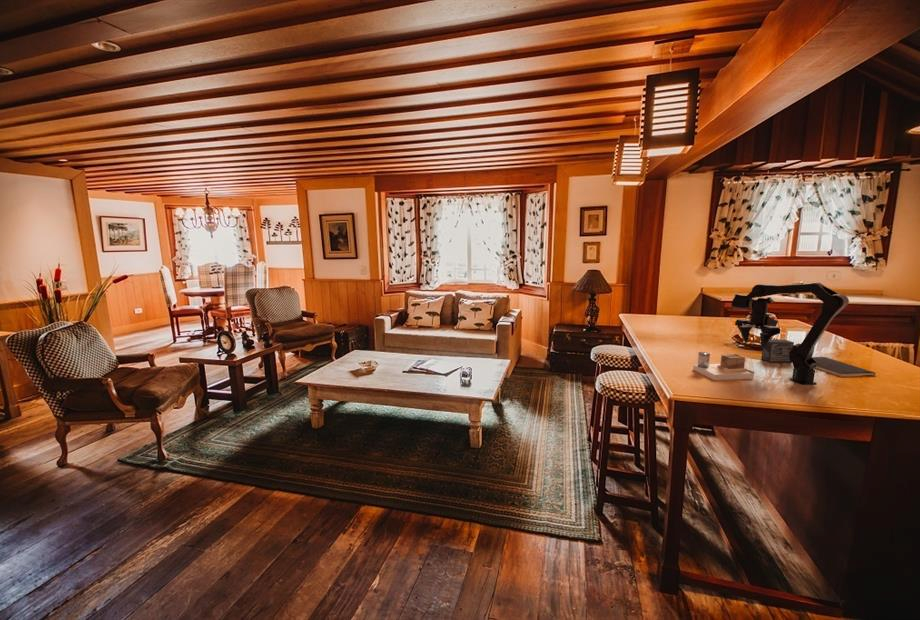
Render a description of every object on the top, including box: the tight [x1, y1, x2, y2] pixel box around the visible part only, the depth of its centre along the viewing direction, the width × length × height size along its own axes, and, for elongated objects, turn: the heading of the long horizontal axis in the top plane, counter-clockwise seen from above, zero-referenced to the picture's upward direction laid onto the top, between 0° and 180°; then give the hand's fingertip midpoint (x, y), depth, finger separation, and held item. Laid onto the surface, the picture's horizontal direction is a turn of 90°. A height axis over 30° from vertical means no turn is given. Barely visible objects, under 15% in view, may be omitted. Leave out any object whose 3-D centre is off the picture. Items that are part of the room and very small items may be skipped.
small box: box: [761, 339, 795, 364], centre depth 191 cm, size 11×6×10 cm, turn 84°
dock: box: [692, 363, 755, 381], centre depth 175 cm, size 14×18×3 cm
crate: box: [717, 353, 748, 372], centre depth 173 cm, size 6×9×6 cm, turn 94°
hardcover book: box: [812, 356, 876, 378], centre depth 180 cm, size 16×23×2 cm
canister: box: [696, 351, 711, 368], centre depth 177 cm, size 5×5×6 cm
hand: (754, 344), depth 178 cm, fingers open, 9 cm apart
